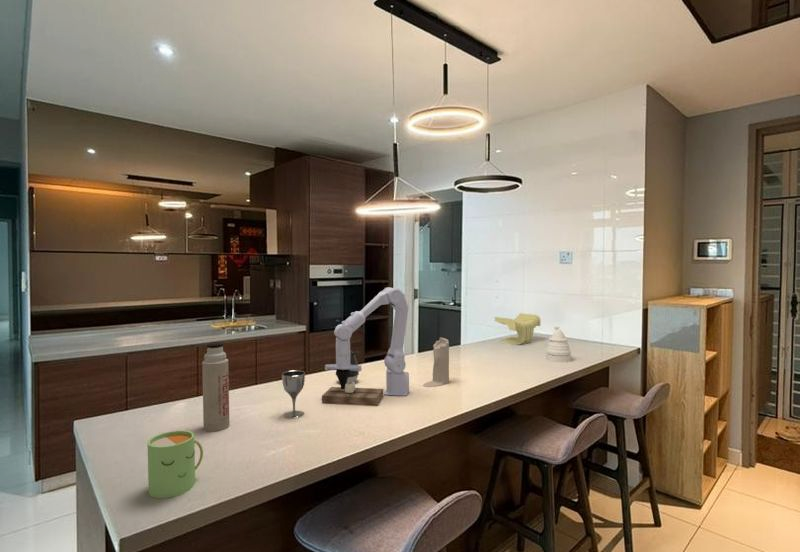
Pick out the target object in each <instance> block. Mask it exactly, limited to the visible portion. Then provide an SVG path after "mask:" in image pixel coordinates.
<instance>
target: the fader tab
mask: <svg viewBox="0 0 800 552" xmlns="http://www.w3.org/2000/svg"><path fill="white" fill-rule="evenodd" d="M355 388H356V381H355V382H347V383H346V384H345V392H347V393H353V392H354V391H355Z"/></svg>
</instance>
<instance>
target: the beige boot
mask: <svg viewBox="0 0 800 552" xmlns="http://www.w3.org/2000/svg"><path fill="white" fill-rule="evenodd" d="M432 366H433V367H432V368H433V369H432V380H430V381H428V382H425V383H424V384H423V385H422V386H423V387H426V388H431V387H440V386H443V385H448V384H449V383H450V343H449V339H447V338H445V337H439V340H436V341H435V343H434V344H433V365H432Z"/></svg>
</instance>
